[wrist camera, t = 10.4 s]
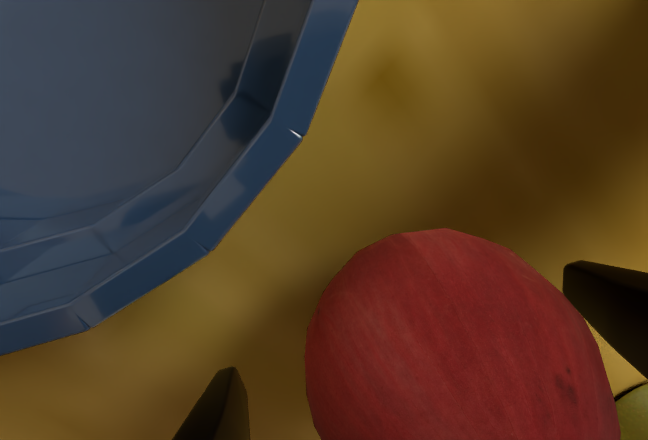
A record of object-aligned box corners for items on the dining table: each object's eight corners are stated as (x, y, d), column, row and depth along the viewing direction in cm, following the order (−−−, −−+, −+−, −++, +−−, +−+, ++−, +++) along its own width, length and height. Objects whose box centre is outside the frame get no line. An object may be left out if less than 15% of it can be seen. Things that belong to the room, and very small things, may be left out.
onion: (499, 261, 12) (914, 562, 4) (382, 374, 13) (554, 781, 5) (382, 149, 10) (787, 354, 2) (253, 295, 10) (232, 783, 3)
